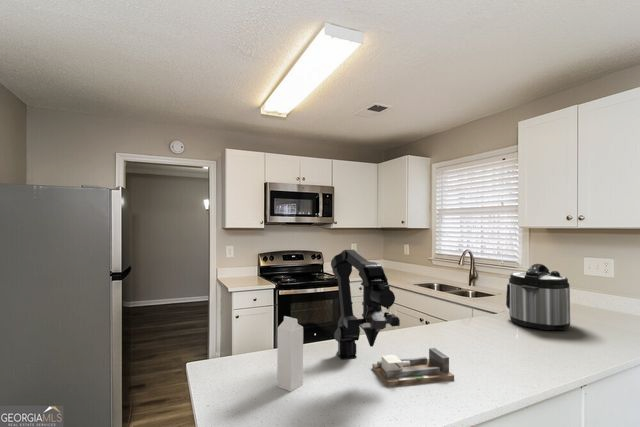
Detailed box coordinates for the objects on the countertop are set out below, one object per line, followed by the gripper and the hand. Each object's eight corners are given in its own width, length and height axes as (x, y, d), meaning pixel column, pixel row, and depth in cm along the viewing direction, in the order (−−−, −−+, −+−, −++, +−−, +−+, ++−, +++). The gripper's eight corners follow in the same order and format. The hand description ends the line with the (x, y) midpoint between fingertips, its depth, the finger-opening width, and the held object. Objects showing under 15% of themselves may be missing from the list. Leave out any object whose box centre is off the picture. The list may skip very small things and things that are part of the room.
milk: (289, 379, 113) (289, 313, 114) (303, 384, 110) (303, 316, 110) (276, 386, 108) (277, 317, 109) (290, 392, 105) (291, 321, 105)
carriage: (392, 379, 110) (392, 367, 110) (381, 367, 119) (381, 355, 119) (418, 377, 111) (418, 365, 112) (405, 365, 121) (405, 353, 121)
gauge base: (387, 386, 108) (387, 366, 109) (372, 368, 122) (372, 350, 122) (454, 379, 113) (454, 360, 114) (432, 362, 127) (432, 345, 127)
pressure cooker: (541, 315, 193) (540, 260, 194) (587, 331, 166) (586, 266, 166) (494, 317, 189) (493, 261, 190) (533, 334, 161) (533, 267, 162)
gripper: (352, 307, 106) (352, 357, 105) (407, 305, 109) (407, 353, 109) (342, 299, 117) (342, 344, 116) (393, 297, 120) (392, 341, 120)
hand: (371, 346), depth 115 cm, fingers closed
